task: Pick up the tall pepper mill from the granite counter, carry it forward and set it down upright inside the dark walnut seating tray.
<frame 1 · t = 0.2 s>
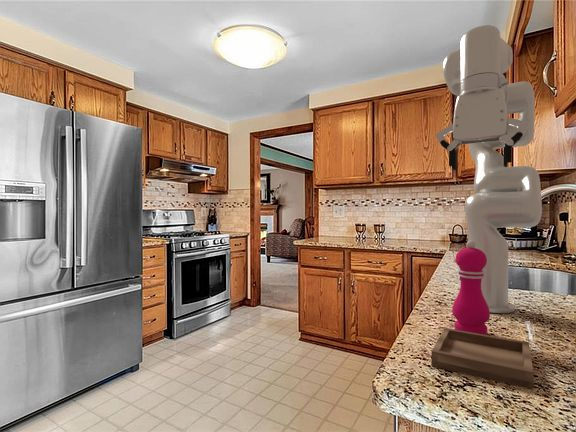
hand: (479, 168, 73), 36 cm above the counter, tool pointing down, fingers open, 9 cm apart
seating tray: (481, 360, 59), on the counter
pepper mill: (470, 333, 74), on the counter
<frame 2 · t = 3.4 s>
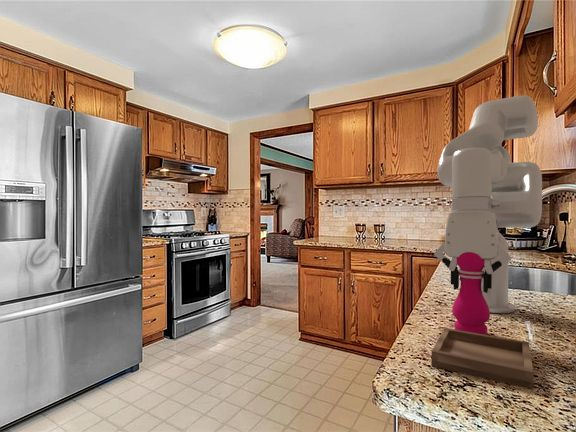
hand: (470, 289, 74), 9 cm above the counter, tool pointing down, fingers closed on pepper mill, 5 cm apart
pepper mill: (470, 333, 74), on the counter, touching gripper
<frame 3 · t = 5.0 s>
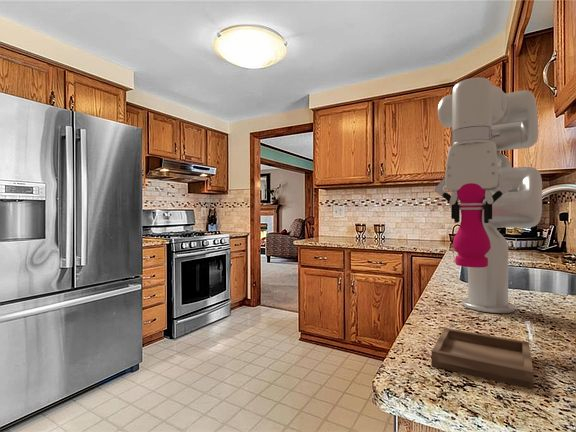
hand: (471, 221, 74), 24 cm above the counter, tool pointing down, fingers closed on pepper mill, 5 cm apart
pepper mill: (471, 266, 74), point 14 cm above the counter, touching gripper
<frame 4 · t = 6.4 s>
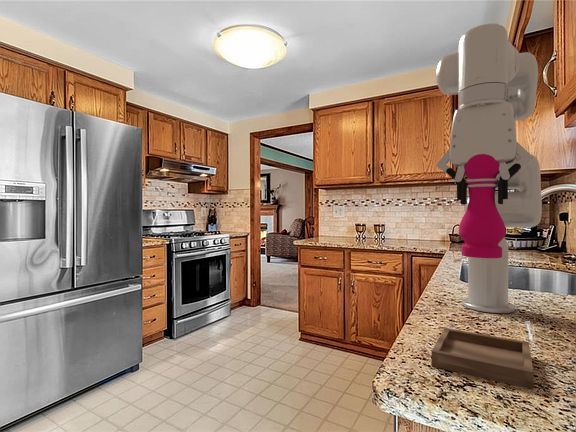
hand: (481, 203, 60), 28 cm above the counter, tool pointing down, fingers closed on pepper mill, 5 cm apart
pepper mill: (481, 257, 60), point 18 cm above the counter, touching gripper
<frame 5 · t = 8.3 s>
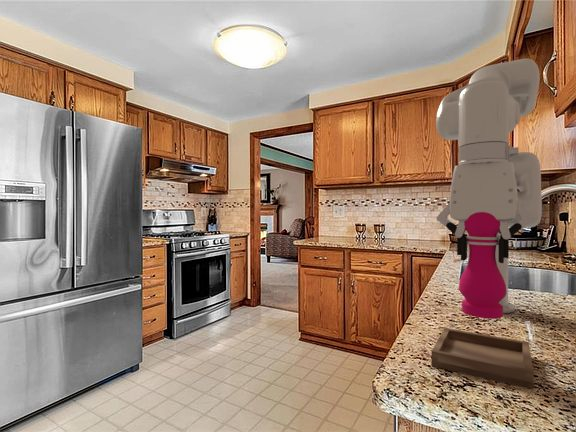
hand: (482, 259, 59), 18 cm above the counter, tool pointing down, fingers closed on pepper mill, 5 cm apart
pepper mill: (481, 314, 59), point 8 cm above the counter, touching gripper
when the fingers open (12 cm above the counter, at t = 9.9 s): pepper mill drops 1 cm, resting on seating tray.
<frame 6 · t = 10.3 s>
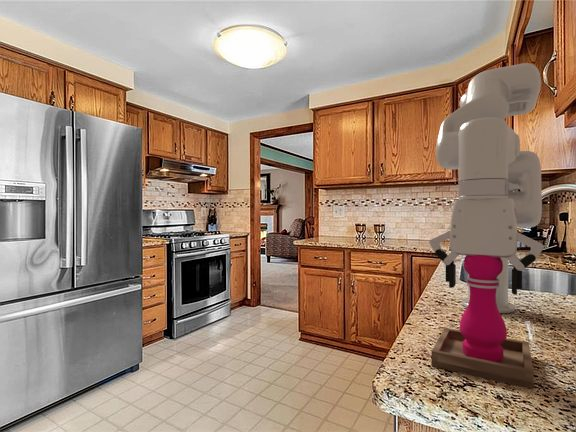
hand: (482, 289, 59), 13 cm above the counter, tool pointing down, fingers open, 9 cm apart
pepper mill: (482, 355, 60), point 1 cm above the counter, touching seating tray
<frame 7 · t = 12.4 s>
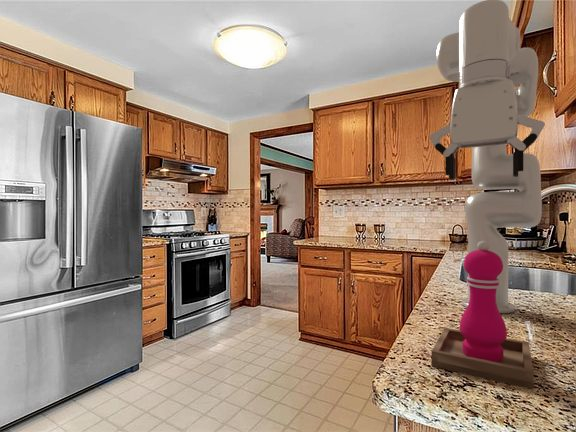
hand: (482, 177, 59), 32 cm above the counter, tool pointing down, fingers open, 9 cm apart
nothing on the counter moved.
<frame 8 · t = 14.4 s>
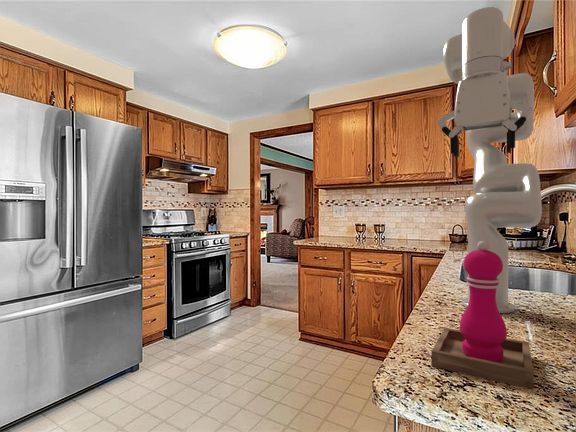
hand: (481, 154, 71), 38 cm above the counter, tool pointing down, fingers open, 9 cm apart
nothing on the counter moved.
at the end: pepper mill 0.2 cm off-centre on the seating tray, point 0.8 cm above the seating tray's base; pepper mill tilted 0°; the gripper is holding nothing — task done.
